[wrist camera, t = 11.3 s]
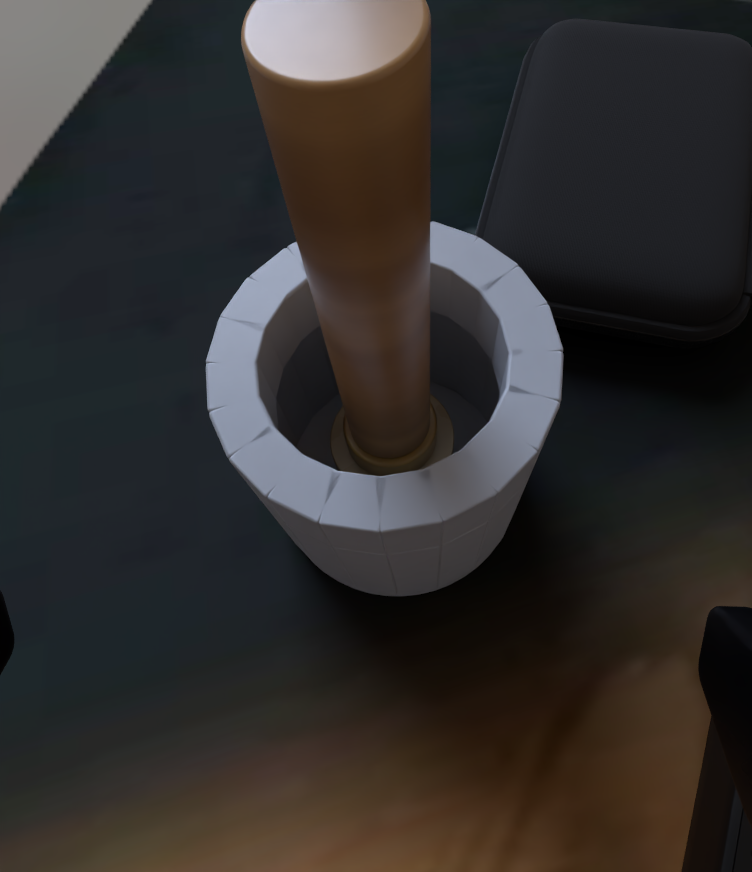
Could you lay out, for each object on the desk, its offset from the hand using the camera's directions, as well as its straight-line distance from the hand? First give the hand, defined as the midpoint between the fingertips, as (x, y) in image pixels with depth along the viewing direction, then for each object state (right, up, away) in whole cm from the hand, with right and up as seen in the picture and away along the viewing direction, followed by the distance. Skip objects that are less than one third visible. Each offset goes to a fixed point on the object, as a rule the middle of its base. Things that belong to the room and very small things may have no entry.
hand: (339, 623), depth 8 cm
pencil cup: (+1, +1, +13) cm, 14 cm away
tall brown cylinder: (+1, +1, +13) cm, 13 cm away
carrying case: (+11, +12, +18) cm, 24 cm away
